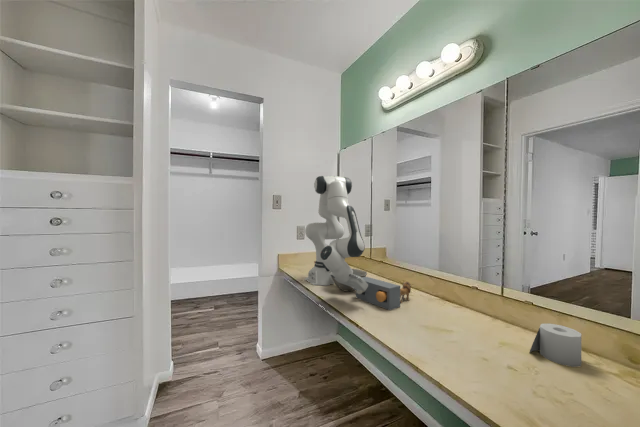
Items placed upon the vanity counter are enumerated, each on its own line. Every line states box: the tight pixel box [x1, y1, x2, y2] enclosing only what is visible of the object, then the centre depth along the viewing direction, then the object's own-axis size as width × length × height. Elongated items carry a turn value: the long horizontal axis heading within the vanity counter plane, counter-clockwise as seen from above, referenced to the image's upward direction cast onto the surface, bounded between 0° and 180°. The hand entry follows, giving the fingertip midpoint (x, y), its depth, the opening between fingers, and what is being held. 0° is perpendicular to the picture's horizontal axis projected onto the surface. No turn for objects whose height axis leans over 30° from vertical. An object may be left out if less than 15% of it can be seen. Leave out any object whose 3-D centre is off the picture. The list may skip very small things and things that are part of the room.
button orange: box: [376, 291, 387, 302], centre depth 119 cm, size 5×5×5 cm
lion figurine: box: [400, 280, 412, 304], centre depth 128 cm, size 15×5×9 cm, turn 134°
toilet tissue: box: [529, 323, 582, 368], centre depth 77 cm, size 9×13×9 cm
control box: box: [355, 276, 401, 311], centre depth 126 cm, size 22×8×10 cm, turn 36°
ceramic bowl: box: [329, 268, 368, 292], centre depth 148 cm, size 22×23×10 cm
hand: (357, 289), depth 128 cm, fingers closed, pressing on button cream
